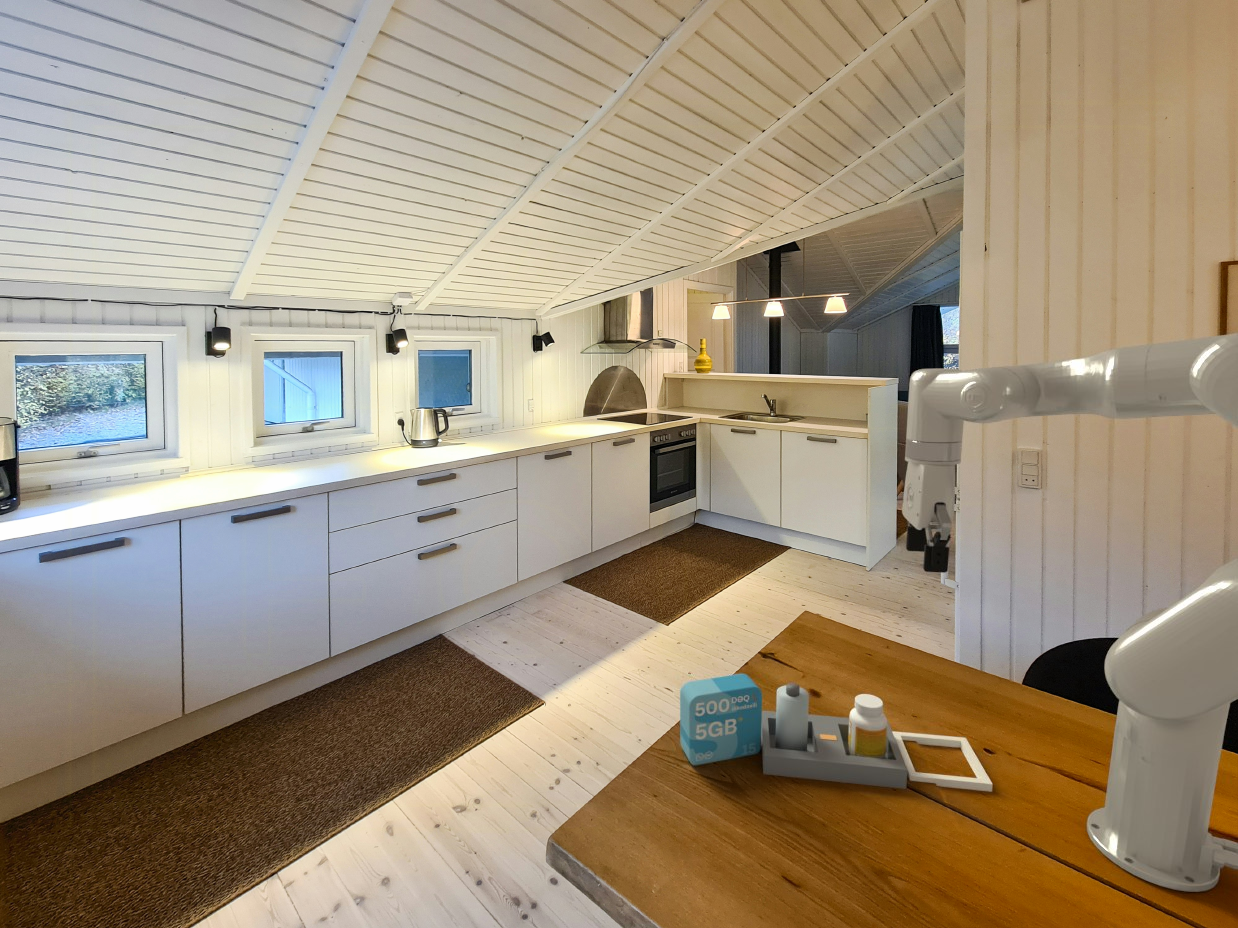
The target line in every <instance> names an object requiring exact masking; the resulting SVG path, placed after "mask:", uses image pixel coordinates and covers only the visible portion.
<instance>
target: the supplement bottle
mask: <svg viewBox="0 0 1238 928" xmlns="http://www.w3.org/2000/svg"><path fill="white" fill-rule="evenodd" d="M848 718H849V736H848V756H859V757H869V758H880V759H885V755H886V735H887V721H888V720H887V717H886V715H885V714H884V703H883V700H882V699H881V698H880V697H878V696H876V695H873V694H869V693H861V694H858V695H856V696H855V697H854V707H853V708H851V710H850V712H849V717H848Z"/></svg>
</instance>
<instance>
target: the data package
mask: <svg viewBox="0 0 1238 928" xmlns="http://www.w3.org/2000/svg"><path fill="white" fill-rule="evenodd" d="M679 701H680V702H679V704H680V705H679V709H680V710H679V713H680V714H679V715H680V716H679V718H680V721H679V726H680V727H679V728H680V731H679V732H680V733H679V736H680V738H679V741H680V746H681V748H682V750H683V752H684V754H685V755H686V757H687V759H688V761H689V762H690V764H691V765H692V766H700V765H704V764H705V765H706V764H710V763H715V762H719V761H720V762H721V761H725V760H731V759H736V758H741V757H745V756H747V757H748V756H752V755H757V754H759V752H760V751H761V750H762V740H761V724H762V711H763V692H762V690H761V688H760V687H759V686H758V685H757V684H756V683H755V682H754V681H753V679H752V678H751V677H750V676H749V675H747V673H736V674H730V675H723V676H718V677H711V678H705V679H703V678H702V679H698V680H689V681H687V682H686V683H683V685H682V687H681V688H680V690H679Z"/></svg>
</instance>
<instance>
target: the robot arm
mask: <svg viewBox="0 0 1238 928" xmlns="http://www.w3.org/2000/svg"><path fill="white" fill-rule="evenodd" d="M908 387H909V389H908V401H907V403H908V404H907V420H906V437H905V438H906V439H905V451H904V452H905V453H904V454H905V455H904V461H905V462H907V467H906V472H905V473H906V474H905V480H904V489H903V500H902V508H901V514H902V515H903V517H904V518H905V519H906V520H907V527H906V528H907V529H906V543H905V544H906V545H905V550H907V551H908V552H923V565H922V566H923V567H922V569H923V571H924V572H925V573H947V572H948V570H949V558H950V557H949V556H950V547H951V539H952V533H951V531H952V527H953V524H954V515H955V502H956V500H955V499H956V497H955V496H956V469H955V468H956V465H959V464H961V463H962V453H963V452H962V450H963V435H964V434H963V433H964V423H965V422H969V423H974V424H991V423H999V422H1002V421H1006V420H1011V419H1019V418H1029V417H1030V418H1031V417H1045V416H1046V417H1047V416H1064V415H1065V416H1066V415H1095V416H1100V417H1103V418H1107V419H1118V420H1119V419H1120V420H1122V419H1123V420H1125V419H1126V420H1127V419H1143V418H1163V417H1179V416H1180V417H1181V416H1203V415H1207V416H1209V415H1216V416H1218V417H1220V418H1221V419H1223V420H1224V421H1226V422H1227V423H1229V424H1230V425H1232V427H1234V428H1236V429H1238V332H1235V333H1229V334H1224V335H1223V334H1221V335H1216V336H1215V335H1214V336H1213V335H1212V336H1207V337H1206V336H1205V337H1197V338H1190V339H1184V340H1183V339H1182V340H1174V341H1168V342H1167V341H1165V342H1158V343H1150V344H1142V345H1132V346H1125V347H1118V348H1113V349H1107V350H1104V351H1102V352H1099V353H1097V354H1095V355H1090V356H1086V357H1085V356H1083V357H1079V358H1072V359H1065V360H1057V361H1050V362H1049V361H1047V362H1039V363H1031V364H1020V365H1009V366H1007V365H1006V366H1005V365H1004V366H993V367H983V368H975V369H969V370H968V369H967V370H961V369H958V368H936V367H935V368H921V369H918V370H915V371H913V372H912V373H911V376H910V378H909V385H908ZM934 532H935V533H934ZM933 533H934V535H933ZM1104 674H1105V675H1104V676H1105V679H1106V681H1107V682H1106V683H1107V684H1108V687H1110V690H1111V691H1112V693H1113V694H1114V695H1115V697H1116V698H1117V699H1118V700H1119V701H1118V706H1117V713H1116V722H1115V724H1114V726H1115V727H1114V734H1113V741H1112V742H1113V743H1112V750H1111V758H1110V763H1109V764H1110V765H1109V773H1108V780H1107V788H1106V793H1105V794H1106V795H1105V802H1104V807H1099V808H1097V809H1094V810H1093V811H1092V812H1090V814H1089V815H1088V817H1087V821H1086V831H1087V834H1088V837H1089V838H1090V841H1091V842H1092V843H1093V844H1094V846H1096V848H1097V849H1098V850H1099V851H1100V852H1101V853H1102V854H1103V856H1105V857H1107V859H1109V860H1110V861H1111V862H1113V863H1114V864H1116V865H1117V866H1119V867H1120V868H1121V869H1123V870H1124V871H1126V872H1128V873H1130V874H1132V875H1133V876H1136V877H1137V878H1140V879H1142V880H1144V881H1147V882H1149V883H1152V884H1154V885H1157V886H1160V887H1163V888H1166V889H1171V890H1175V891H1181V892H1194V893H1195V892H1196V893H1199V892H1206V891H1209V890H1211V889H1213V888H1214V887H1216V885H1217V884H1218V883H1219V879H1220V875H1221V874H1220V873H1221V872H1220V871H1221V869H1223V868H1224V867H1227V868H1231V869H1234V870H1236V871H1238V842H1235V841H1232V840H1230V839H1226V838H1220V837H1217V836H1213V835H1212V834H1211V833H1210V832H1208V830H1209V825H1210V819H1211V818H1210V817H1211V811H1212V805H1213V800H1214V794H1215V787H1216V781H1217V775H1218V771H1219V763H1220V758H1221V756H1222V755H1221V754H1222V749H1223V744H1224V736H1225V731H1226V725H1227V721H1228V720H1227V719H1228V716H1229V710H1230V707H1231V703H1233V702H1234V701H1236V700H1238V557H1237V558H1236V559H1233V560H1231V561H1229V562H1227V563H1225V564H1223V565H1221V566H1219V568H1217V569H1216V570H1215V571H1214V572H1212V573H1211V574H1210V576H1209V577H1208V578H1207V579H1206V580H1204V582H1203V583H1201V585H1199V586H1198V587H1197V588H1195V589H1194V590H1193V591H1191V592H1190V593H1188V594H1186V596H1184V597H1182V598H1181V599H1180V600H1178V601H1177V602H1175V603H1173V604H1172V605H1171V606H1168V607H1162V608H1158V609H1155V610H1152V611H1150V612H1147V613H1146V614H1144V615H1142V616H1141V617H1139V618H1138V619H1136V621H1135V622H1133V623H1132V624H1131V626H1129V627H1128V628H1127V629H1126V630H1125V632H1124V633H1122V635H1121V636H1120V637H1119V638H1118V639H1117V640H1116V641H1115V642H1113V644H1112V645H1111V646H1110V648H1109V650H1108V651H1107V654H1106V656H1105V659H1104Z"/></svg>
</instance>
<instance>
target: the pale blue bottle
mask: <svg viewBox="0 0 1238 928" xmlns="http://www.w3.org/2000/svg"><path fill="white" fill-rule="evenodd" d="M809 702H810V695H809V692H808V690H806V689H804V687H801V686H800V685H799V684H798V683H795V682H788V683H786V685H782V686H780V687H778V688H777V689H776V705H775V706H776V707H775V710H776V711H775V712H776V743H775V748H776V749H786V750H797V751H807V736H808V714H809V707H810V706H809V705H810V703H809Z"/></svg>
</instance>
